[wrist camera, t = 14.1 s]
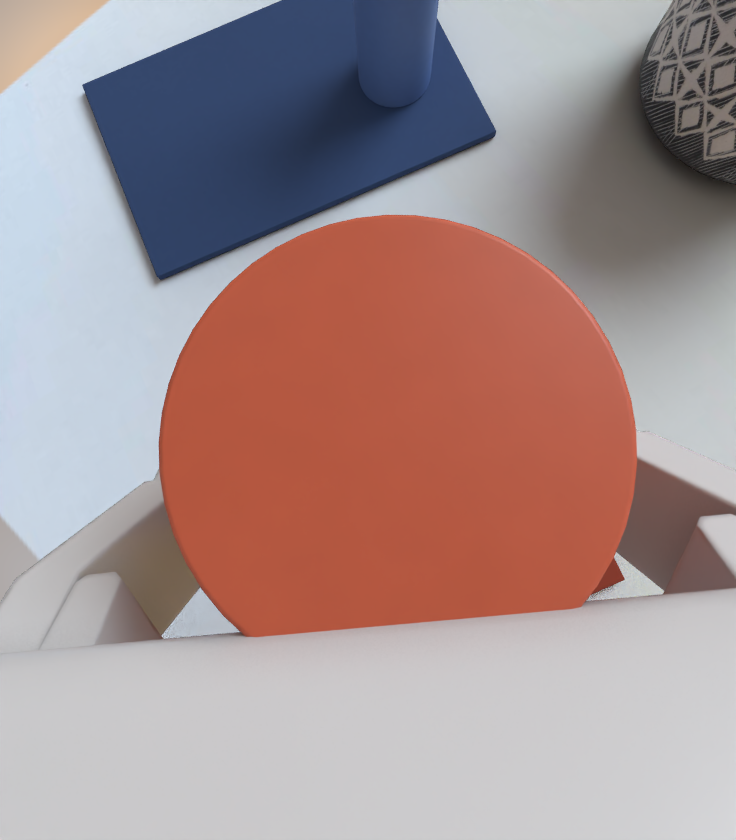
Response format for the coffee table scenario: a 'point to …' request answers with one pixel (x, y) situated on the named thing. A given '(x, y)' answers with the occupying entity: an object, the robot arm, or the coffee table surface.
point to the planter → (694, 85)
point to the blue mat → (267, 128)
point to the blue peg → (395, 48)
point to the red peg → (396, 434)
